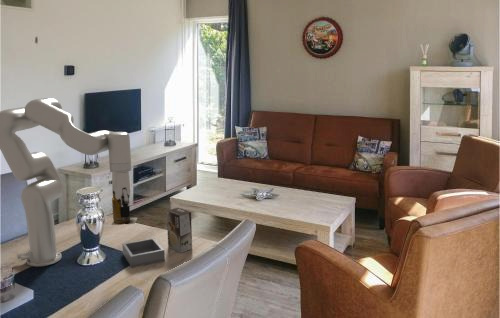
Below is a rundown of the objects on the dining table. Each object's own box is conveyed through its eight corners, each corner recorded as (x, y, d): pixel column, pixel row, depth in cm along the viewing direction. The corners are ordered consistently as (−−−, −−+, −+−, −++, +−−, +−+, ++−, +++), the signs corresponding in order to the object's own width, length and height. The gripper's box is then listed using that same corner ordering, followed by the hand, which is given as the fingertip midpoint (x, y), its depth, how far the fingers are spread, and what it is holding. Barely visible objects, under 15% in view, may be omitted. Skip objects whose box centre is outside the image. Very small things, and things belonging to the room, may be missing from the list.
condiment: (114, 218, 173) (112, 187, 171) (137, 218, 174) (135, 187, 171) (110, 225, 166) (108, 193, 164) (134, 224, 167) (132, 192, 164)
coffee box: (193, 248, 192) (192, 212, 188) (181, 253, 187) (179, 215, 184) (179, 242, 198) (178, 207, 194) (167, 247, 193) (165, 210, 190)
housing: (131, 267, 174) (131, 256, 174) (123, 254, 187) (122, 243, 186) (164, 260, 180) (164, 249, 179) (154, 247, 193) (153, 237, 192)
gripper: (105, 162, 172) (108, 208, 176) (114, 172, 157) (117, 223, 161) (126, 160, 175) (128, 206, 179) (136, 170, 160) (139, 219, 164)
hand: (123, 213), depth 170 cm, fingers closed on condiment, 6 cm apart
